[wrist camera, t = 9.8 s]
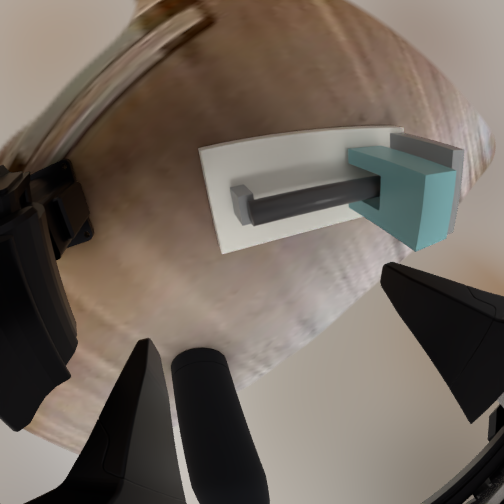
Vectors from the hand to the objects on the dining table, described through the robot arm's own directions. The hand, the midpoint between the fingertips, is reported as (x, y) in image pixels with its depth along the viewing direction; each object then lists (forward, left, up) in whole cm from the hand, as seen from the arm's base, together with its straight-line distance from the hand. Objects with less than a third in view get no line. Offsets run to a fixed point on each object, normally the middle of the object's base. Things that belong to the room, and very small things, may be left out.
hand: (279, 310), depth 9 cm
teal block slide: (+8, 0, -13) cm, 16 cm away
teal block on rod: (+12, 0, -11) cm, 16 cm away
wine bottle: (-6, -18, -13) cm, 23 cm away
